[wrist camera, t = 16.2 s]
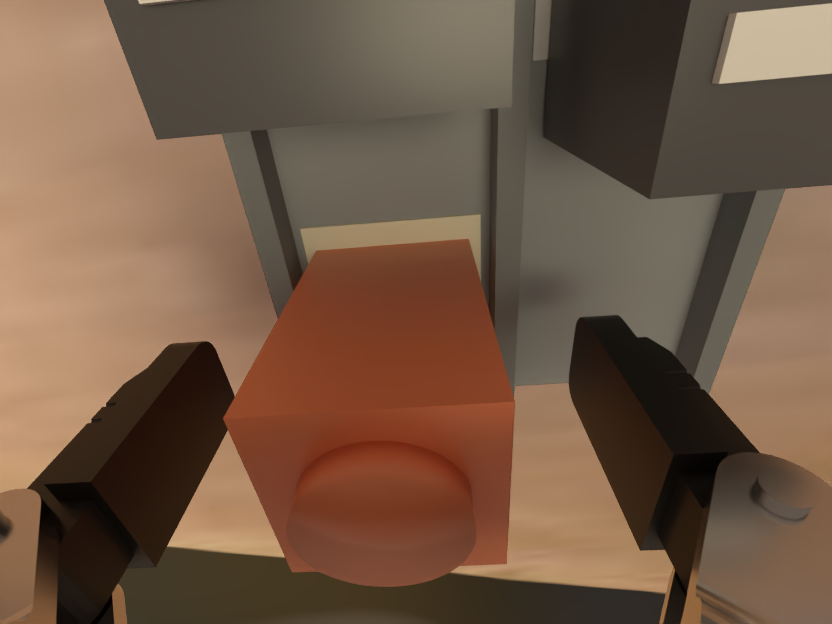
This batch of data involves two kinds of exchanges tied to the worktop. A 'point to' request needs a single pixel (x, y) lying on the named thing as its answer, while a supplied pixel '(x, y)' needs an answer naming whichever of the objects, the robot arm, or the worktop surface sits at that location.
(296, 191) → the breaker panel
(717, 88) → the breaker
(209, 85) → the block
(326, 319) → the cap
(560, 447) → the worktop surface
